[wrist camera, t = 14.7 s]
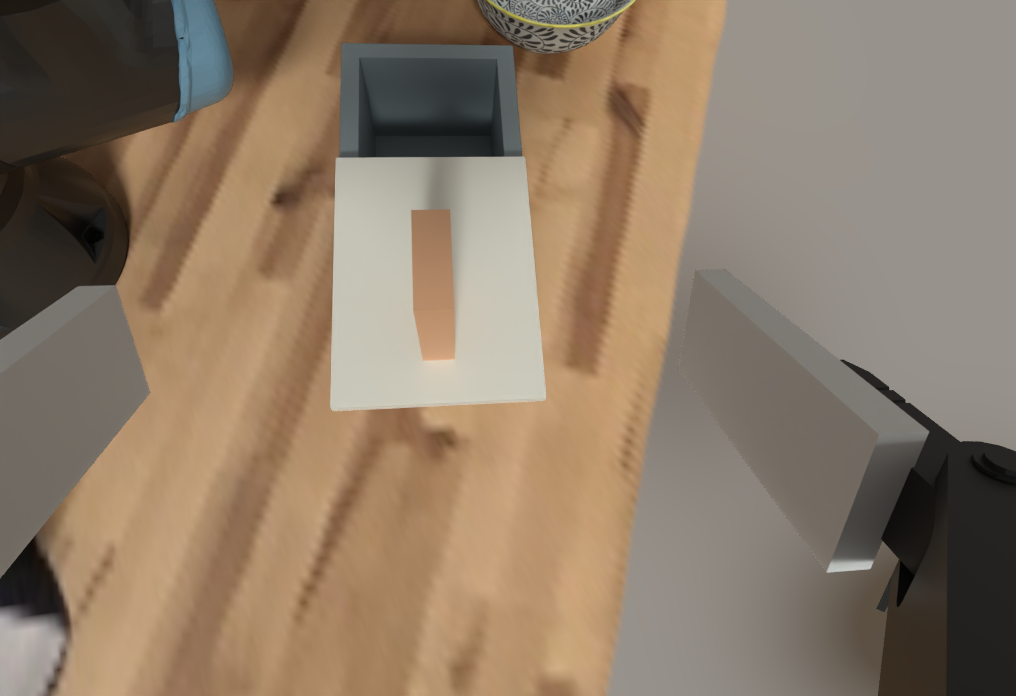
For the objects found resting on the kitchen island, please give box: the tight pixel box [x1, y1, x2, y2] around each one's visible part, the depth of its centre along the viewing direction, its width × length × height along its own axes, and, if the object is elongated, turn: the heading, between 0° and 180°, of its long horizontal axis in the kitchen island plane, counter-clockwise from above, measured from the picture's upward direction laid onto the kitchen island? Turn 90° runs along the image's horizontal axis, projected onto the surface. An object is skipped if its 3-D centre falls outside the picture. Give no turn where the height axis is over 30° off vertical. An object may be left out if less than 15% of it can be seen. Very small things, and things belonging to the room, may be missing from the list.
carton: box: [339, 43, 522, 158], centre depth 43 cm, size 16×12×10 cm
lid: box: [330, 157, 546, 411], centre depth 31 cm, size 16×12×9 cm
